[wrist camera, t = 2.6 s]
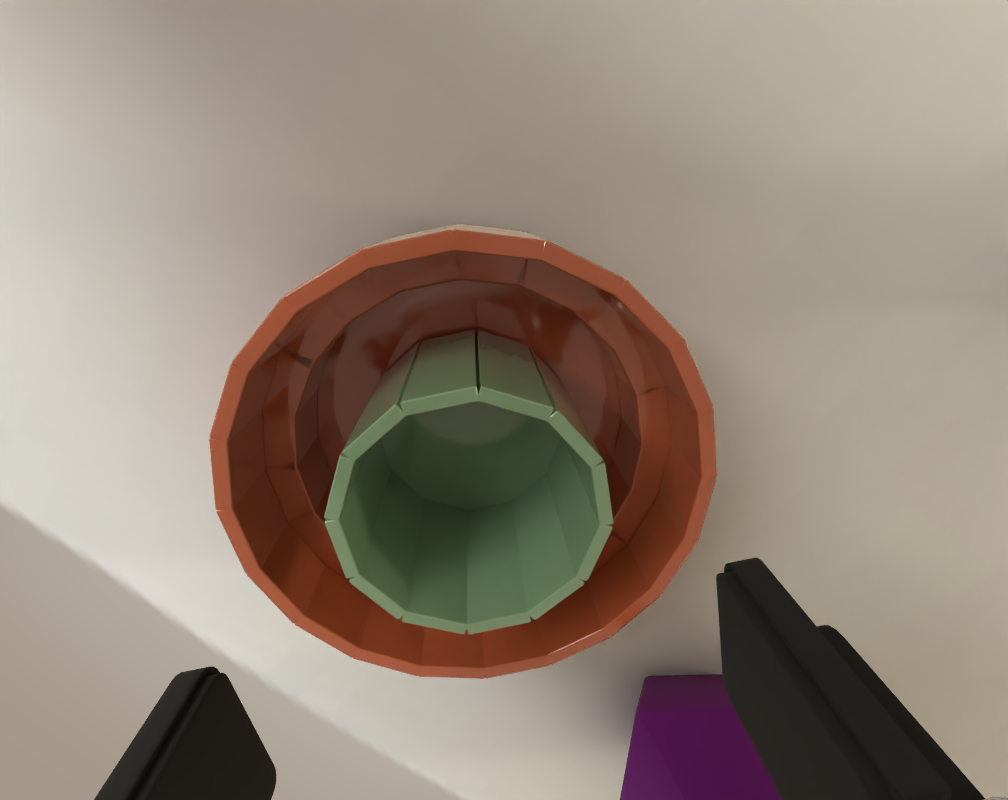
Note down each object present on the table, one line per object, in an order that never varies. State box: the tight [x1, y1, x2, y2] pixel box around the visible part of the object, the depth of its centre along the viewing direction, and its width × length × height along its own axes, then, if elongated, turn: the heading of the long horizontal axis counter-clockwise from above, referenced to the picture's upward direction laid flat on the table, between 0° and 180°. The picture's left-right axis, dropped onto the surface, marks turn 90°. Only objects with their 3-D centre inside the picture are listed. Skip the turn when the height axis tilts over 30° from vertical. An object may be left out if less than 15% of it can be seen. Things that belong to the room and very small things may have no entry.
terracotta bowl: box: [209, 224, 717, 679], centre depth 18 cm, size 15×15×6 cm
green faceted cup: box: [324, 330, 614, 634], centre depth 17 cm, size 8×8×6 cm
